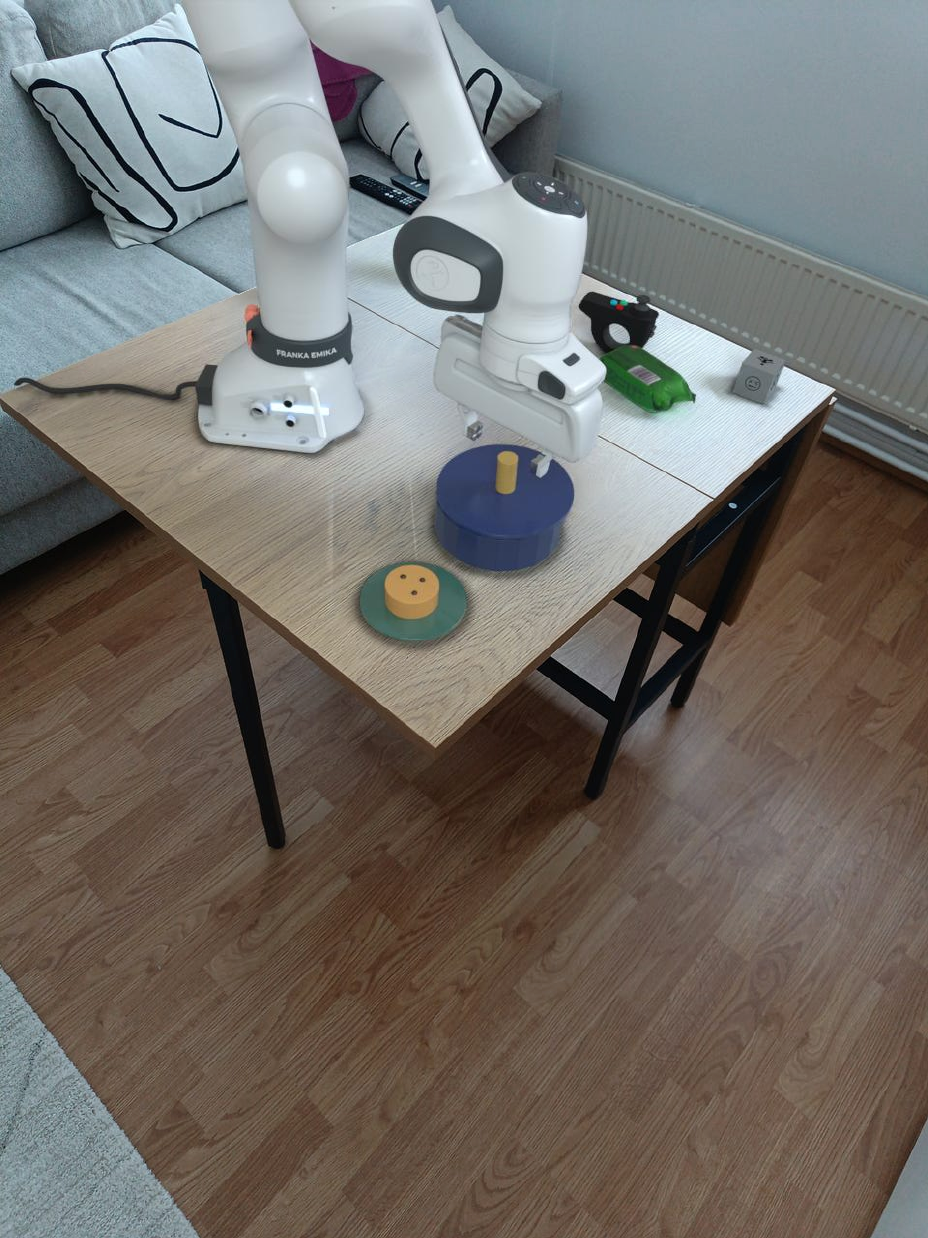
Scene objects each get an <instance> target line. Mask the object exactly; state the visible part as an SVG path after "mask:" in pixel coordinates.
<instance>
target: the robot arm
mask: <svg viewBox="0 0 928 1238" xmlns="http://www.w3.org/2000/svg"><path fill="white" fill-rule="evenodd" d="M180 3H181V5H182V8H183V12H184V14H185V16H186V19H187V22H188V24H189V27H190V29H191V32H192V35H193V39H194V41H195V44H196V47H197V49H198V51H199V54H200V56H201V59H202V62H203V64H204V66H205V68H206V70H207V72H208V74H209V77H210V80H211V81H212V83H213V86H214V88H215V91H216V93H217V95H218V97H219V100H220V103H221V105H222V107H223V110H224V113H225V115H226V117H227V120H228V122H229V125H230V127H231V130H232V133H233V135H234V138H235V142H236V144H237V148H238V153H239V156H240V160H241V161H240V162H241V166H242V172H243V177H244V184H245V192H246V199H247V207H248V216H249V225H250V235H251V244H252V245H251V246H252V255H253V265H254V273H255V274H254V275H255V281H256V282H255V283H256V290H257V297H258V305H259V306H258V305H256V304H252V303H251V304H248V305H247V306H246V307H245V310H244V315H243V316H244V317H243V318H244V321H245V322H246V323H245V324H246V325H245V334H246V341H244V342H243V343H242V344H240V345H238V346H237V347H236V348H234V349H233V350H231V351H229V352H228V353H226V354H225V355H224V356H223V357H222V358H221V359H220V361H219V362H218V364H209V363H208V364H207V363H206V364H204V367H203V368H202V371H201V373H200V375H199V377H198V379H197V380H191V381H185V382H182V383H180V384H178V385H177V386H176V387H175V392H174V393H172V394H159V393H157V392H153V391H150V390H147V389H143V388H141V387H139V386H134V385H132V384H131V385H130V384H125V383H99V384H94V385H84V386H78V387H77V386H76V387H53V386H48V385H46V384H43V383H41V382H39V381H37V380H35V379H33V378H30V377H20V378H17V379H16V380H15V381H14V383H13V386H14V387H15V386H16V387H20V386H21V385H22V384H29V385H31V386H33V387H35V388H37V389H39V390H41V391H44V392H47V393H51V394H60V395H61V394H64V395H65V394H66V395H67V394H80V393H88V392H93V391H103V390H125V391H130V392H134V393H137V394H141V395H144V396H148V397H153V398H158V399H162V400H165V401H173V400H176V399H178V398H180V396H181V394H182V393H181V392H182V390H184V389H185V388H193V387H194V388H195V395H196V398H197V404H198V410H197V417H198V420H197V421H198V427H199V430H200V433H201V435H202V436H203V437H204V439H205V440H206V441H208V442H209V443H210V442H211V443H217V444H226V445H233V446H234V445H235V446H241V447H243V446H244V447H252V448H260V449H270V450H280V451H288V452H297V453H306V454H314V453H317V452H320V451H321V450H323V448H324V447H326V446H327V445H328V444H329V443H330V442H332V441H334V440H335V439H336V438H337V437H341V436H342V435H345V434H347V433H348V432H352V431H353V430H355V429H356V428H357V427H358V426H359V425H360V423H361V422H362V420H363V417H364V415H365V407H364V403H363V401H362V398H361V395H360V393H359V392H360V391H359V389H358V386H357V381H356V376H355V372H354V366H353V365H354V364H353V360H354V355H355V338H354V337H355V336H354V325H353V321H352V320H353V319H352V316H351V313H350V312H349V300H348V299H349V298H348V296H349V295H348V275H347V271H348V269H347V251H348V240H349V239H348V238H349V222H350V172H349V167H348V162H347V161H346V157H345V155H344V153H343V151H342V148H341V144H340V141H339V138H338V136H337V133H336V130H335V128H334V124H333V121H332V119H331V115H330V112H329V108H328V104H327V101H326V98H325V94H324V90H323V87H322V83H321V82H322V81H321V79H320V76H319V72H318V68H317V63H316V60H315V56H314V52H313V48H312V45H311V43H312V44H313V45H314V46H316V47H317V48H318V49H320V51H322V52H323V53H325V54H327V55H328V56H330V57H331V58H334V59H336V60H337V61H340V62H343V63H346V64H349V65H354V66H358V67H361V68H365V69H366V70H369V71H370V72H372V73H374V74H375V75H377V76H379V77H380V78H381V79H382V80H384V81H385V82H386V84H387V85H388V86H389V87H390V88H391V90H392V92H393V93H394V94H395V96H396V98H397V99H398V102H399V104H400V106H401V108H402V110H403V113H404V115H405V118H406V120H407V122H408V125H409V127H410V129H411V131H412V134H413V136H414V139H415V141H416V143H417V145H418V148H419V150H420V152H421V154H422V157H423V159H424V161H425V164H426V167H427V170H428V175H429V187H428V188H429V189H428V195H427V198H426V199H425V200H423V202H422V203H420V204H419V205H418V206H417V207H416V208H415V210H414V211H413V212H412V214H410V216H409V217H408V219H406V221H405V222H404V224H403V225H402V226H401V227H400V229H399V230H398V232H397V234H396V236H395V238H394V242H393V247H392V262H393V268H394V270H395V273H396V276H397V278H398V280H399V282H400V284H401V286H402V287H403V289H404V290H405V291H406V292H407V294H409V296H411V297H412V298H413V299H414V300H415V301H417V302H418V303H420V304H421V305H423V306H425V307H428V308H430V309H434V310H438V311H445V312H452V313H453V312H454V313H462V314H483V321H482V324H480V323H477V322H474V321H472V320H469V319H468V317H465V316H464V315H461V314H454V315H451V316H447V317H446V318H445V319H444V320H443V322H442V324H441V329H440V342H441V343H440V345H439V348H438V351H437V354H436V360H435V363H434V369H433V373H432V374H433V375H432V382H433V385H434V387H435V389H436V391H437V392H438V393H440V394H441V395H443V396H445V397H447V398H448V399H451V400H453V401H455V402H456V403H457V412H458V413H459V416H460V418H461V421H462V425H463V432H462V433H463V434H462V436H463V437H465V438H467V439H469V440H471V441H473V442H476V440H477V439H480V438H481V436H482V434H483V428H484V423H483V422H481V421H480V420H479V417H478V415H477V414H479V415H481V416H483V417H485V418H486V419H488V420H489V421H492V422H493V423H496V424H498V425H499V426H501V427H502V428H505V429H507V430H509V431H511V432H513V433H515V434H516V435H518V436H520V437H522V438H523V439H526V440H528V442H531V443H533V444H535V445H537V446H539V447H540V448H541V453H542V454H543V455H546V456H543V455H541V454H539V455H538V456H537V457H536V458H534V459H533V460H532V461H531V464H530V467H531V468H530V469H529V472H531V473H533V474H534V475H536V476H538V477H539V478H541V477H542V476H543V475H545V474H546V473H547V471H548V468H549V463H550V461H551V460H552V459H555V458H556V457H559V458H561V459H562V460H564V461H566V462H568V463H571V464H575V463H576V462H577V463H578V462H579V461H581V460H582V459H584V458H586V457H587V456H588V455H589V454H591V452H593V450H594V449H595V447H596V445H597V443H598V438H599V434H600V430H601V426H602V425H601V424H602V417H603V409H604V403H603V401H604V400H603V395H602V393H601V391H600V389H599V388H598V387H599V386H601V384H602V383H603V382H605V381H604V379H605V376H606V367H605V365H604V364H603V363H602V362H601V361H600V360H599V358H598V357H597V356H596V355H595V354H593V353H592V351H590V350H589V349H588V348H587V347H586V346H585V345H584V344H583V343H582V342H581V341H580V340H579V339H578V338H577V337H576V336H575V334H574V333H573V332H572V331H571V326H572V318H571V317H572V315H571V307H572V303H573V301H574V299H575V297H576V295H577V293H578V291H579V288H580V284H581V280H582V273H583V268H584V262H585V255H586V249H587V242H588V241H587V240H588V214H587V208H586V206H585V203H584V201H583V199H582V197H581V195H580V194H578V192H576V191H575V190H574V189H573V188H572V187H571V186H570V185H569V184H568V183H566V182H565V181H562V180H561V179H559V178H557V177H554V176H552V175H549V174H545V173H542V172H530V171H529V172H526V171H525V172H520V173H517V174H516V175H514V176H513V177H512V176H511V175H510V173H509V172H508V171H507V169H506V168H505V167H504V165H503V164H502V163H501V162H500V161H499V159H498V158H497V157H496V155H495V153H494V152H493V150H492V149H491V147H490V146H489V144H488V141H487V139H486V137H485V134H484V132H483V130H482V127H481V125H480V122H479V119H478V116H477V114H476V111H475V109H474V106H473V104H472V101H471V98H470V96H469V93H468V90H467V88H466V85H465V82H464V79H463V77H462V75H461V74H462V73H461V72H460V69H459V66H458V64H457V61H456V59H455V56H454V53H453V51H452V48H451V46H450V43H449V41H448V38H447V36H446V34H445V31H444V29H443V26H442V25H441V23H440V20H439V17H438V15H437V13H436V9H435V6H434V4H433V2H432V0H180Z"/></svg>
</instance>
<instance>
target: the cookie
mask: <svg viewBox="0 0 928 1238" xmlns="http://www.w3.org/2000/svg"><path fill="white" fill-rule="evenodd" d="M438 595H439V581H438V578H437V577H436V575H435V574H434V573H433V572H432V571H431V570H429V569H427V568H425V567H422V566H418V565H404V566H400V567H398V568H396V569H394V570H392V571H391V572H390V573H389V574H388V575H387V577H386V579H385V604H386V606H387V608H388V609H389V611H390V612H391V613H393V614H394V615H396V616H398V617H400V618H404V619H420V618H423V617H426V616H428V615H429V614H431V613H432V612H433V611H434V610H435V609H436V607H437V604H438Z"/></svg>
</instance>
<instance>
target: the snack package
mask: <svg viewBox="0 0 928 1238" xmlns="http://www.w3.org/2000/svg"><path fill="white" fill-rule="evenodd" d="M598 359H599V360H600V361H601V362H602V363H603V364H604V365H605V367H606V376H605V379H604V381H603V382H604V383H605V384H607V385H608V386H609V387H611V388H613V389H614V390H615V391H616V392H618V393H619V394H621V395H622V396H624V397H625V398H626V399H627V400H629V401H631V402H632V403H633V404H635V405H636V406H638V407H639V408H641V409H642V410H644V411H645V412H648V413H650V414H656V413H658V412H666V411H668V410H670V409H671V408H672V407H673V406H675V405H678V404H682V403H687V402H692V403H693V404H695V403H696V397H697V394H696V393H694V392H693V391H692V390H691V389H690V386H689V384H688V382H687V381H686V379H685V378H684V377H683V376H682V374H681V373H679V372H678V371H676V370H675V369H674V368H672V367H671V366H669V365H668V364H666V362H665V363H664V362H663V361H662V360H660V359H659V358H658V357H656V356H655V355H653V354H651V353H650V352H648V351H647V350H646V349H644V348H640V347H638V346H636V345H625V346H621V347H619V348H617V349H615V350H613V351H611V352H609V353H605V354H603V355H601V356H600V357H599V358H598Z"/></svg>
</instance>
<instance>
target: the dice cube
mask: <svg viewBox="0 0 928 1238" xmlns="http://www.w3.org/2000/svg"><path fill="white" fill-rule="evenodd" d="M786 361H787V360H786V359H785V358H781V357H778V356H776V355H772V354H770V353H767V352H765V351H762V350H759V349H756V348H753V349H752V351H751V352H750V353H748V355H747V357H745V358H744V360H742V362H741V365H740V368H739V371H738V374H737V376H736V380H735V383H734V386H733V388H732V391H731V393H732V394H736V395H738V396H741V397H743V398H746V399H748V400H751V401H753V402H757V403H759V404H761V405H765V404H766V402H767V401H768V400H769V398H770V397H771V395H772V394H773V393H774V392H775V390H776V388H777V386H778V383H779V380H780V377H781V375H782V372H783V370H784V367H785V364H786Z"/></svg>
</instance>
